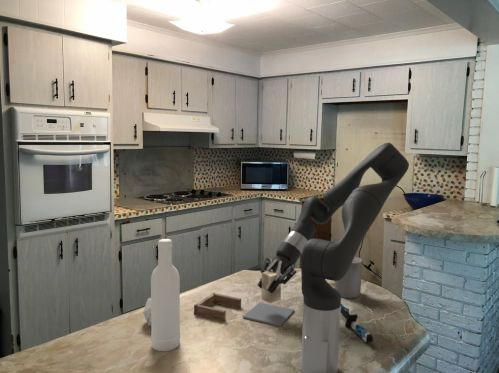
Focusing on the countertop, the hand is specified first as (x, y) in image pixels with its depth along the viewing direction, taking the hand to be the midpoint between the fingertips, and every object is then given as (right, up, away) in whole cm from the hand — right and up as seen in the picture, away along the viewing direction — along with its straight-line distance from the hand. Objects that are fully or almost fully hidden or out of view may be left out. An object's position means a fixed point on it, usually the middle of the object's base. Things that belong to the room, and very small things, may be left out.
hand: (264, 289), depth 135 cm
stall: (-15, -8, +5) cm, 18 cm away
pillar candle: (+32, -7, +22) cm, 40 cm away
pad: (+2, -9, +2) cm, 9 cm away
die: (-34, -9, -5) cm, 36 cm away
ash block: (+2, -4, +2) cm, 5 cm away
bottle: (-28, -11, -19) cm, 36 cm away
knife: (+26, -9, -2) cm, 28 cm away
